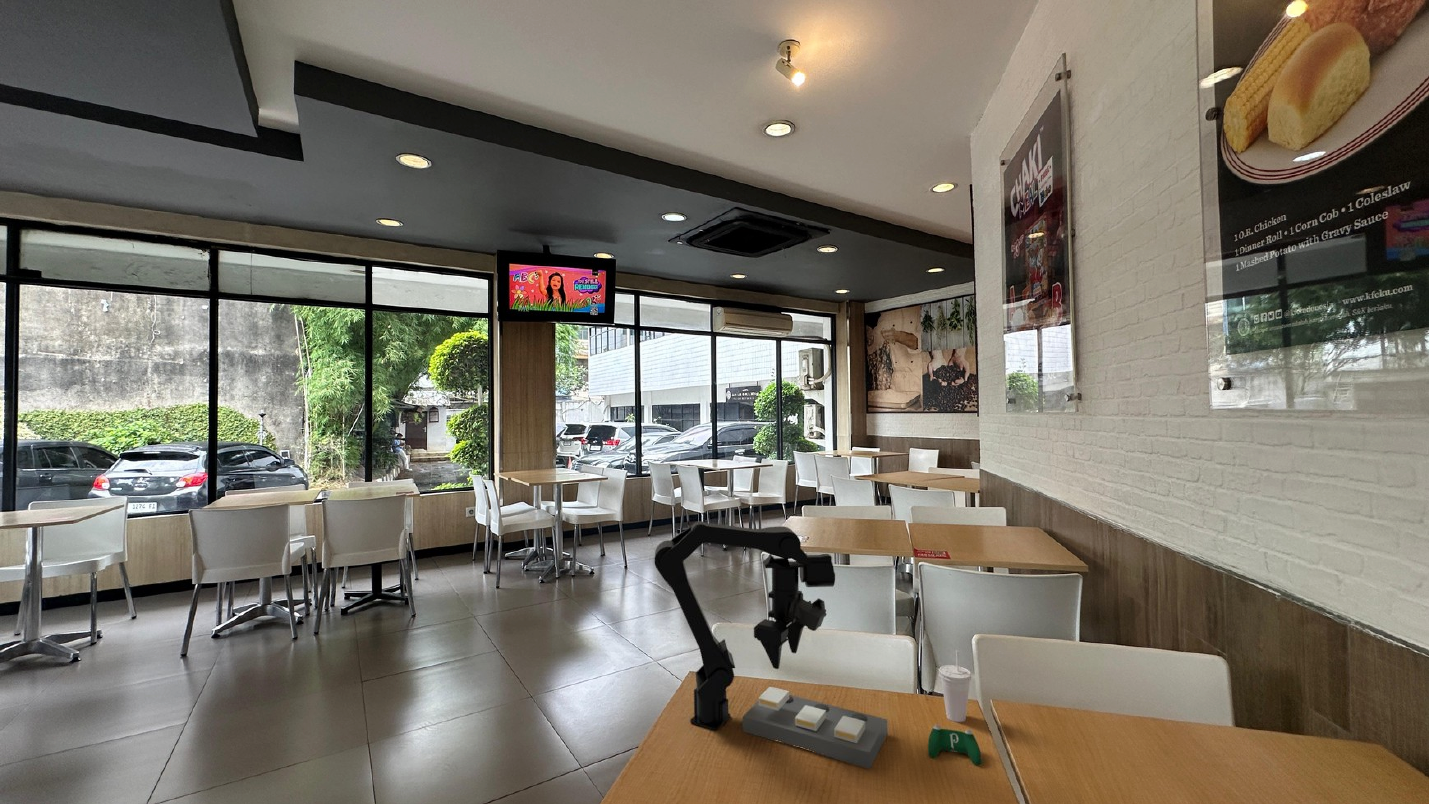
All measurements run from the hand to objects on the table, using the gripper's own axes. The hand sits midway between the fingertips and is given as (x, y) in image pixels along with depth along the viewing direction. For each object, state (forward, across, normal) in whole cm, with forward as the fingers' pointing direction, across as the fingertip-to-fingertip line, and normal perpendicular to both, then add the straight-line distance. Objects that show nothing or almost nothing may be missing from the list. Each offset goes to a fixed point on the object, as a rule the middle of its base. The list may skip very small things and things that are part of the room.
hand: (785, 660), depth 125 cm
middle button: (+8, -5, -8) cm, 13 cm away
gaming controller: (+12, +3, -33) cm, 35 cm away
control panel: (+12, -3, -8) cm, 14 cm away
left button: (+7, -5, 0) cm, 8 cm away
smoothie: (+12, +17, -32) cm, 38 cm away
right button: (+9, -5, -16) cm, 19 cm away
